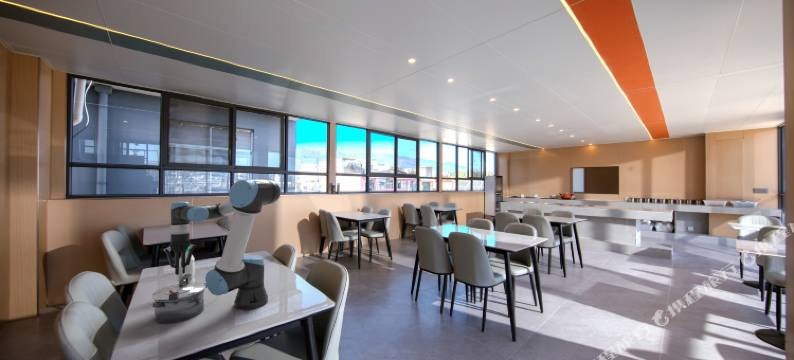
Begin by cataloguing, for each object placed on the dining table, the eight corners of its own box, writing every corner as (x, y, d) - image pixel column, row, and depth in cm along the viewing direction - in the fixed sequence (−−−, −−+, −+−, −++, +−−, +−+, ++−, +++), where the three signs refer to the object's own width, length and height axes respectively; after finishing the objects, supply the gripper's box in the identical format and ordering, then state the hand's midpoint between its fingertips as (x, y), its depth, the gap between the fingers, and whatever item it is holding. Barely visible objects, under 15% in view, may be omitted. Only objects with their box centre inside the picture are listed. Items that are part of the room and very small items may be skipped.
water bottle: (197, 290, 163) (197, 246, 163) (184, 295, 156) (184, 248, 157) (188, 289, 165) (188, 245, 166) (175, 293, 159) (175, 247, 159)
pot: (173, 328, 121) (173, 304, 121) (138, 323, 125) (138, 300, 125) (224, 302, 147) (224, 282, 147) (193, 299, 151) (193, 280, 151)
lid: (200, 297, 127) (200, 288, 127) (143, 305, 119) (143, 296, 119) (210, 278, 153) (210, 270, 153) (164, 283, 145) (164, 275, 145)
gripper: (165, 235, 137) (165, 285, 137) (197, 232, 147) (197, 278, 147) (162, 233, 142) (161, 282, 141) (193, 230, 152) (192, 276, 151)
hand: (180, 280), depth 144 cm, fingers closed
